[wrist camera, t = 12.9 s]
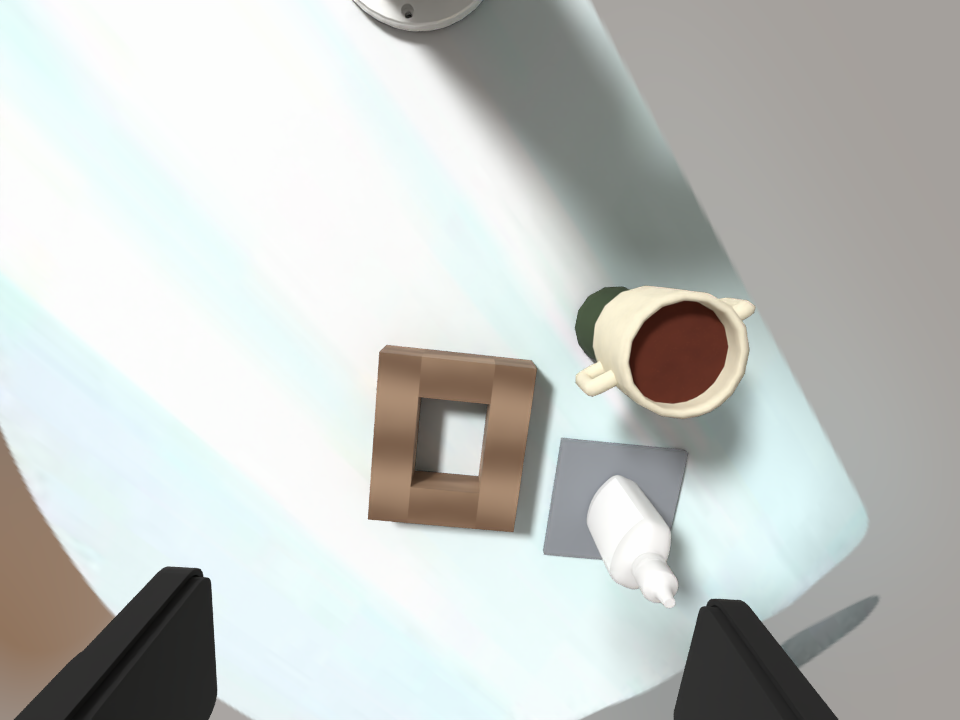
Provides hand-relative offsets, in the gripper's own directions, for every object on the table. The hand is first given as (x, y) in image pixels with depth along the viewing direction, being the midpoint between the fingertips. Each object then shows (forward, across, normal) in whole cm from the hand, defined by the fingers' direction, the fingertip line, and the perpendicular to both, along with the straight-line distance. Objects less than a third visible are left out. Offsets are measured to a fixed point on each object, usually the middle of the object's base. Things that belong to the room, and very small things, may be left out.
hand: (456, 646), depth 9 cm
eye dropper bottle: (+28, -14, +13) cm, 34 cm away
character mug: (+29, -12, -2) cm, 32 cm away
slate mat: (+29, -14, +13) cm, 35 cm away
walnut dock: (+29, 0, +8) cm, 30 cm away
